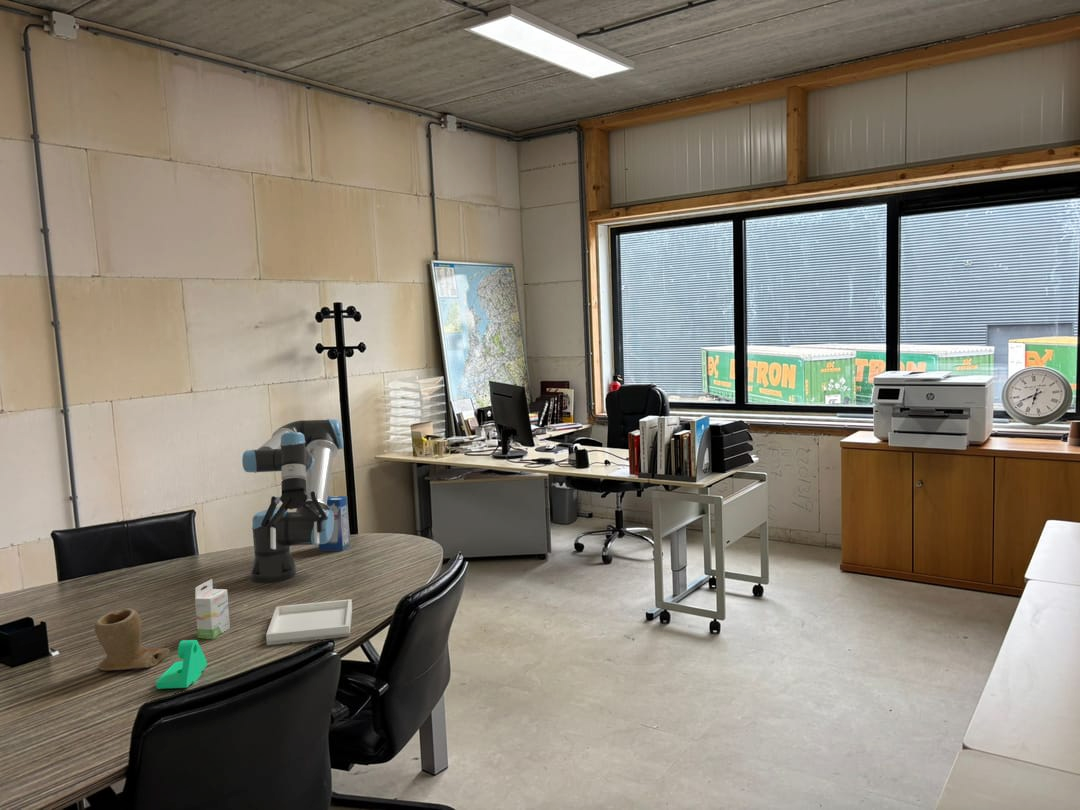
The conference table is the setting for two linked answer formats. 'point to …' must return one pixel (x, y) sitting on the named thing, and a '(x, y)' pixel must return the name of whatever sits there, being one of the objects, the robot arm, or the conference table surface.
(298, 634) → the tray
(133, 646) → the stone cup
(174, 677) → the camera mount
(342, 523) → the milk carton
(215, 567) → the conference table surface
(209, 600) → the ink box
